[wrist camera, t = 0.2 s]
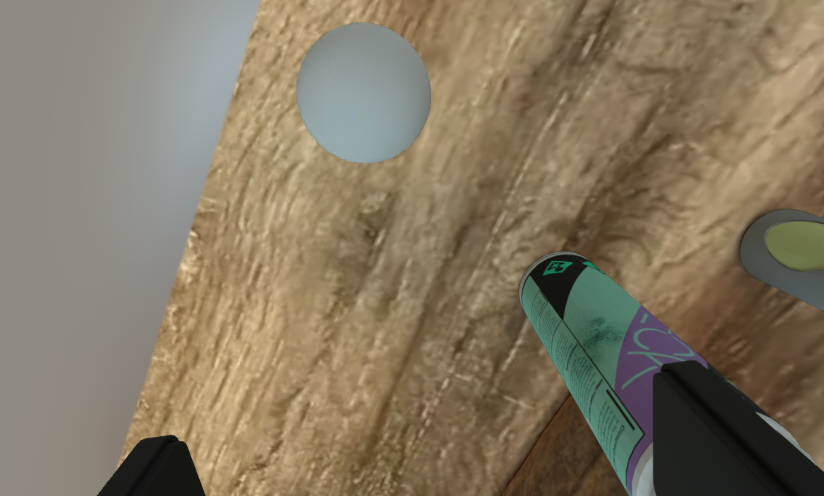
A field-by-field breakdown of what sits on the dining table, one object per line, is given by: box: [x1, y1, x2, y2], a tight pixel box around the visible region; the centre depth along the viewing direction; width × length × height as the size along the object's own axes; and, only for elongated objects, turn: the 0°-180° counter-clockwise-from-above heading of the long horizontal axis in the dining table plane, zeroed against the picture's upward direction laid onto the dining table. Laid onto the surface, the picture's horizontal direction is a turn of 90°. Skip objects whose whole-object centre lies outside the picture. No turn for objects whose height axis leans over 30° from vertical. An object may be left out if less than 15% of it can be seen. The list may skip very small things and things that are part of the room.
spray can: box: [519, 251, 816, 496], centre depth 22 cm, size 6×6×20 cm
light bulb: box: [297, 23, 431, 163], centre depth 23 cm, size 6×6×10 cm
